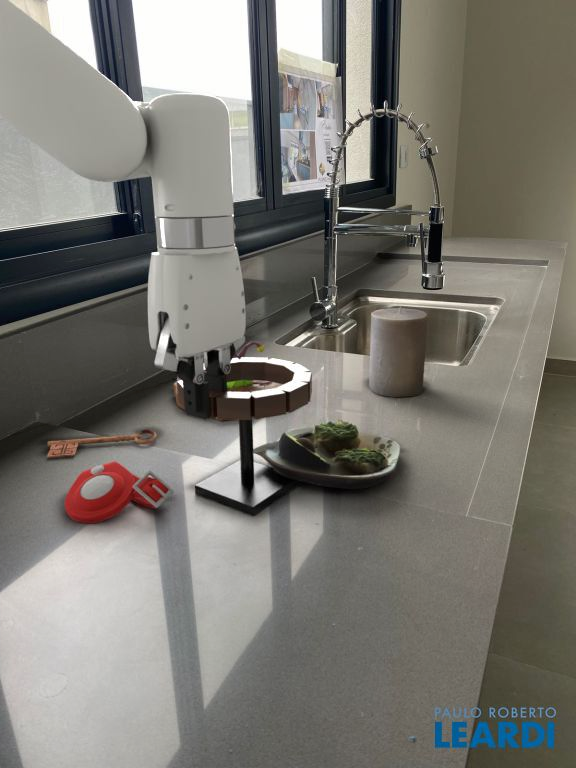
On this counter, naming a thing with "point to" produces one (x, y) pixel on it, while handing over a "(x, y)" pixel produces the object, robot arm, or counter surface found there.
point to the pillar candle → (397, 351)
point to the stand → (246, 480)
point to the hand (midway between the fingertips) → (206, 411)
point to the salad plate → (332, 456)
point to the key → (76, 442)
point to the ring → (263, 401)
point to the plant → (242, 384)
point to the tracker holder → (112, 492)
